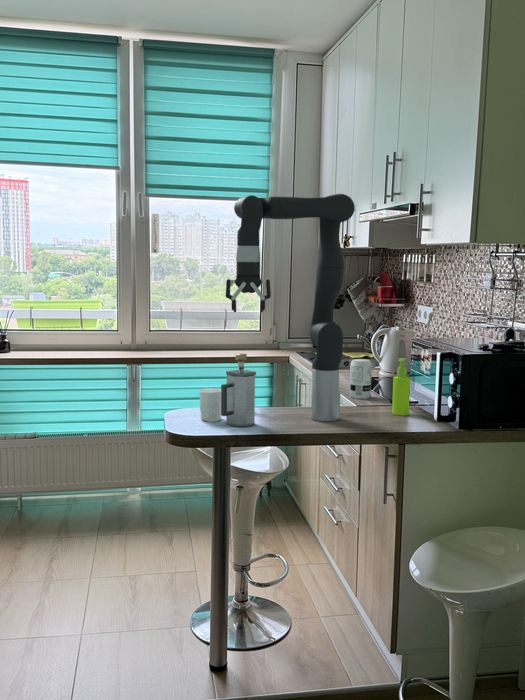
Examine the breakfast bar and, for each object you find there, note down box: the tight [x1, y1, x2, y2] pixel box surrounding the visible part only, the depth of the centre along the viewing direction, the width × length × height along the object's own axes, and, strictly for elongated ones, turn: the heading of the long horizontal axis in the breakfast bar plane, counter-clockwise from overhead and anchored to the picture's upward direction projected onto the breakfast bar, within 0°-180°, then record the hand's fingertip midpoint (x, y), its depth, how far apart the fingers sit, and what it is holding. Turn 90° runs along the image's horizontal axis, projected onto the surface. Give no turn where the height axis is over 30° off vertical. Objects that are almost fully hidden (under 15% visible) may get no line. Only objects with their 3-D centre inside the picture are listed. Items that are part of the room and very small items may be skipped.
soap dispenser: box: [391, 357, 411, 417], centre depth 236 cm, size 6×7×20 cm
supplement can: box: [349, 358, 373, 400], centre depth 266 cm, size 8×8×15 cm
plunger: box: [235, 353, 248, 372], centre depth 217 cm, size 4×4×20 cm
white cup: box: [198, 387, 222, 422], centre depth 225 cm, size 8×8×10 cm
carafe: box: [220, 369, 257, 429], centre depth 217 cm, size 14×9×18 cm
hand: (248, 312), depth 213 cm, fingers open, 8 cm apart
